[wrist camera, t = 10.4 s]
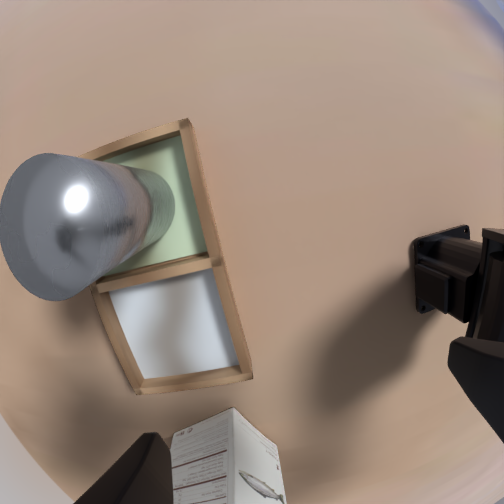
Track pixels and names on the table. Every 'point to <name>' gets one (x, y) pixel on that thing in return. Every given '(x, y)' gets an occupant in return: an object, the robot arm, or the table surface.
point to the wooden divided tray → (173, 279)
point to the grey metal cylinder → (78, 220)
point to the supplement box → (225, 463)
